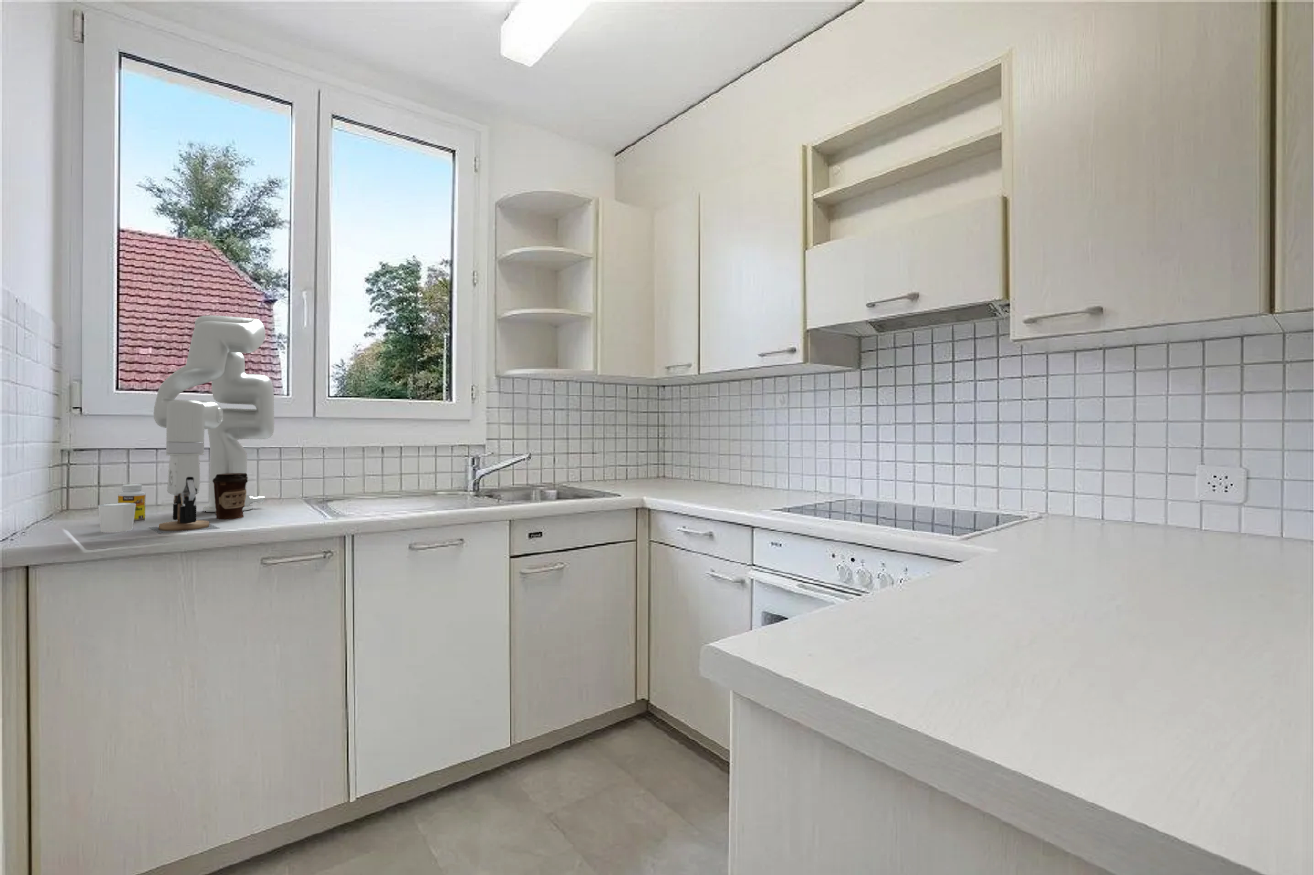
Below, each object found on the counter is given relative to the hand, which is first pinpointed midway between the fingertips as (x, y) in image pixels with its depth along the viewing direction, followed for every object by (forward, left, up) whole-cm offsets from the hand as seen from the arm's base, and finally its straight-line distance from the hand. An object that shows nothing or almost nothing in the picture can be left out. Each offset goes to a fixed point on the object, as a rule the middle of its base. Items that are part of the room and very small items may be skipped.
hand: (184, 520), depth 153 cm
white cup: (+12, -5, -3) cm, 13 cm away
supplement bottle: (+7, -22, -3) cm, 23 cm away
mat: (0, 0, -2) cm, 2 cm away
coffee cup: (-13, -13, -3) cm, 19 cm away
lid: (0, 0, -2) cm, 2 cm away
